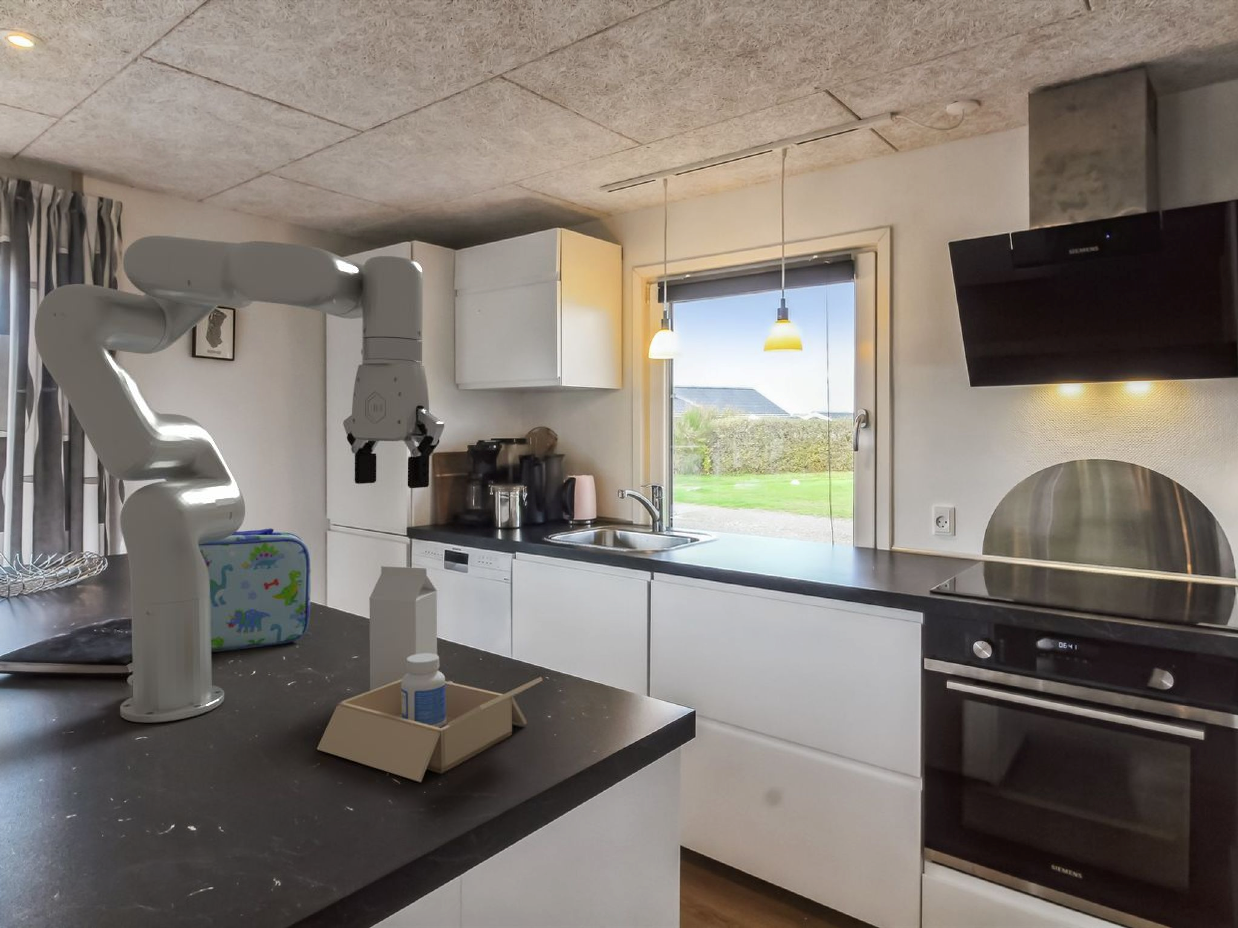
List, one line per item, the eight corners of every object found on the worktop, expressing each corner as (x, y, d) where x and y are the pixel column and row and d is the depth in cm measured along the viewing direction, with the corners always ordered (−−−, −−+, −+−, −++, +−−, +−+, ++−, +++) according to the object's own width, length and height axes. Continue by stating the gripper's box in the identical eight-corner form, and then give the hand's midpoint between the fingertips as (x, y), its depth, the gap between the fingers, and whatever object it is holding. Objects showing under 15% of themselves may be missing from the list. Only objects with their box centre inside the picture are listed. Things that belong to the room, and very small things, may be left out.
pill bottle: (453, 728, 99) (453, 653, 99) (430, 744, 94) (430, 665, 94) (417, 722, 101) (417, 649, 101) (392, 738, 96) (392, 661, 96)
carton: (296, 746, 95) (296, 706, 95) (414, 697, 112) (414, 663, 112) (419, 785, 85) (419, 741, 85) (528, 725, 102) (528, 688, 102)
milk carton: (415, 705, 109) (415, 572, 108) (369, 701, 111) (368, 570, 110) (437, 689, 116) (437, 564, 115) (393, 685, 117) (393, 562, 117)
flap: (448, 722, 88) (479, 705, 86) (510, 692, 98) (540, 676, 96) (449, 726, 88) (481, 709, 85) (512, 696, 98) (542, 680, 95)
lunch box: (306, 629, 149) (305, 522, 148) (315, 643, 140) (314, 528, 139) (149, 648, 136) (146, 530, 135) (147, 664, 127) (145, 538, 126)
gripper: (324, 354, 102) (323, 483, 103) (420, 350, 93) (418, 491, 94) (368, 359, 108) (367, 480, 109) (462, 355, 100) (460, 487, 101)
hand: (391, 485), depth 102 cm, fingers open, 9 cm apart
